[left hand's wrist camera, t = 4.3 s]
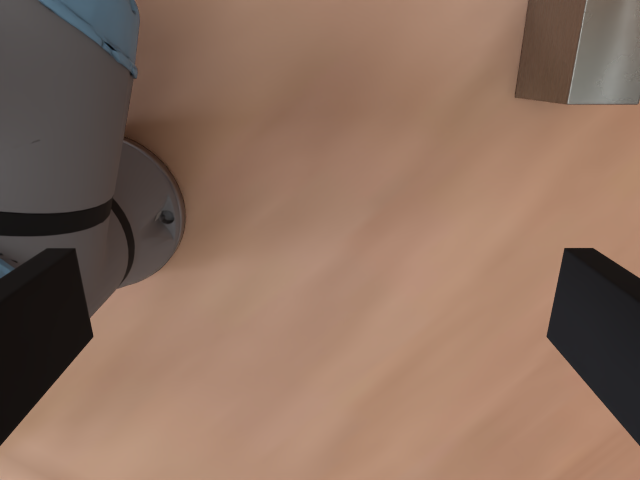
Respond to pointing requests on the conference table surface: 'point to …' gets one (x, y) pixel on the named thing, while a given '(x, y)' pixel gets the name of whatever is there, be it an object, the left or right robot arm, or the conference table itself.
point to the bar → (581, 52)
